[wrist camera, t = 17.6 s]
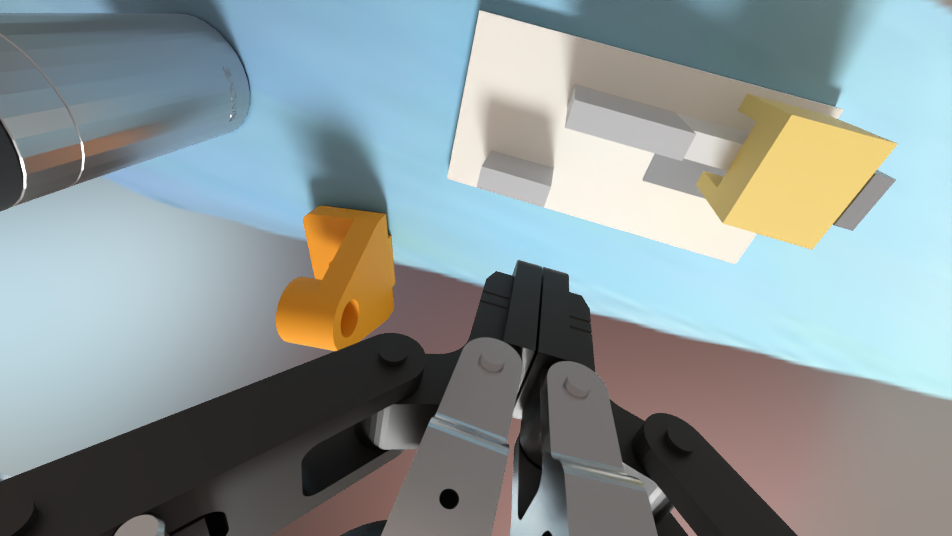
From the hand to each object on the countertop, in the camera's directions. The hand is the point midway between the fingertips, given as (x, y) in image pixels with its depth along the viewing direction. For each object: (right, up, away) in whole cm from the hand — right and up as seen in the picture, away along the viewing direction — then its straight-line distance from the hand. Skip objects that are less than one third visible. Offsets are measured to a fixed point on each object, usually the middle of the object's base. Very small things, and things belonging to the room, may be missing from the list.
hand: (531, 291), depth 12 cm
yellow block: (+16, +8, +14) cm, 23 cm away
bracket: (-13, +2, +29) cm, 32 cm away
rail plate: (+9, +10, +18) cm, 23 cm away
